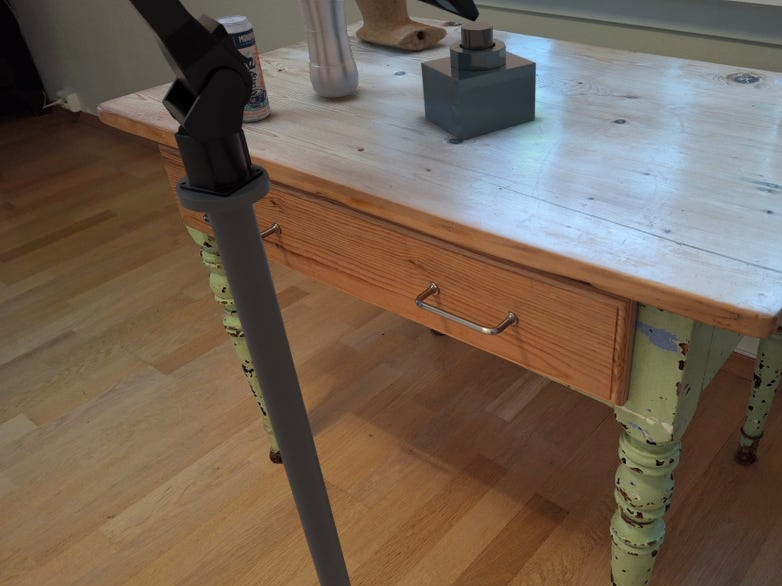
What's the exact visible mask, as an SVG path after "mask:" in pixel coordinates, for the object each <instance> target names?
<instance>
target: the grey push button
mask: <svg viewBox="0 0 782 586" xmlns="http://www.w3.org/2000/svg"><path fill="white" fill-rule="evenodd" d="M460 38H461V39H460V40H461V42H462V49H464V50H473V51H477V50H486V49H491V48H493V39H494V25H493V24H492V23H490V22H487V21H486V22H485V21H474V22H473V21H471V22H467V23H463V24H462V25H460Z"/></svg>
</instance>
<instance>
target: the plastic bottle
mask: <svg viewBox="0 0 782 586" xmlns="http://www.w3.org/2000/svg"><path fill="white" fill-rule="evenodd" d="M297 3H298V5H299V9H300V12H301V16H302V21H303V25H304V26H305V27H304V30H305V34H306V39H307V49H308V58H309V62H308V72H309V81H310V83H311V85H312V89H313V90H314V92H315V93H316V94H317V95H318V96H320V97H323V98H341V97H347V96H350V95H353V94H354V93H356V91H357V89H358V87H359V70H358V67H357V64H356V62H355V61H356V60H355V58H354V56H353V51H352V48H351V43H350V39H349V34H348V27H347V26H348V25H347V18H346V17H347V16H346V0H297Z"/></svg>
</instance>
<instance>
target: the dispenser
mask: <svg viewBox="0 0 782 586" xmlns="http://www.w3.org/2000/svg"><path fill="white" fill-rule="evenodd" d="M420 67H421V80H422V94H423V104H424V117H425V120H427V121H428V122H430V123H432V124H434V125H436V126H437V127H439V128H440V129H442V130H444V131H445V132H447V133H449V134H451V135H453V136H454V137H456V138H457V139H460V140H462V141H463V140H467V139H470V138H474V137H477V136H481V135H485V134H489V133H493V132H495V131H500V130H503V129H506V128H510V127H513V126H517V125H521V124H525V123H528V122H532V121H535V120H536V91H537V90H536V89H537V87H536V85H537V84H536V83H537V80H536V79H537V62H535V61H533V60H530V59H528V58H525V57H523V56H520V55H517V54H516V53H512V52H510V51H507V46H506V42H505V41H503V40H500V39H497V38H493V48H491V49H486V50H477V51H473V50H464V49H462V42H461V39H458V40H456V41H454V42H452V43H450V44H449V56H446V57H445V56H444V57H441V58H436V59H432V60H427V61H422V62H420Z"/></svg>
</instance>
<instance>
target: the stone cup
mask: <svg viewBox="0 0 782 586" xmlns="http://www.w3.org/2000/svg"><path fill="white" fill-rule="evenodd" d="M354 2H355V4H356V5H357V7H358V9H359V11H360V14H361V16H362V21H363V25H362V26H361V27H360V28H358V29H357V30H356V31H355V36H356V38H357V39H358V40H362V41H364V42H368V43H372V44H375V45H380V46H385V47H391V48H397V49H403V50H409V51H420V50H424V49H428V48H429V47H432V46H435V44H438V43H439V42H440V41H442V40H443V39H444V38H446V36H447V35H448V32H447V30H446V29H445V28H443V27H439V26H435V25H430V24H427V23H422V22H420V21H419V22H418V21H416V20H413V19H411V17H410V15H409V12H408V5H407V0H354Z"/></svg>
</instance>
